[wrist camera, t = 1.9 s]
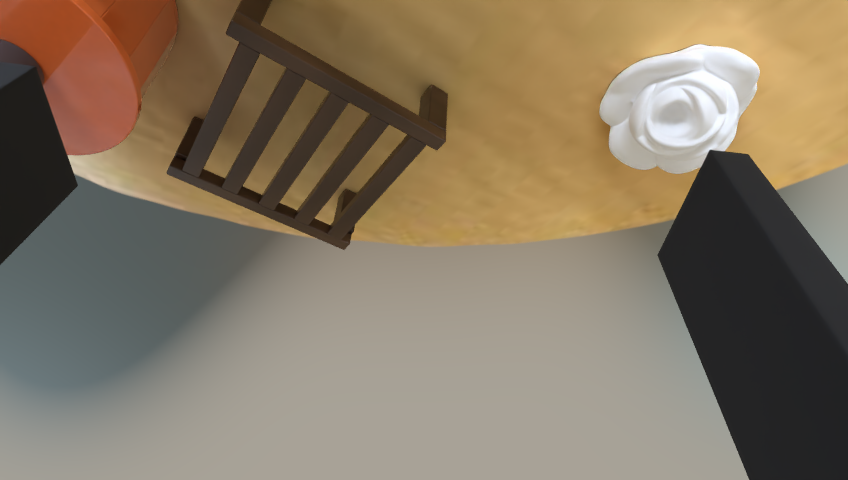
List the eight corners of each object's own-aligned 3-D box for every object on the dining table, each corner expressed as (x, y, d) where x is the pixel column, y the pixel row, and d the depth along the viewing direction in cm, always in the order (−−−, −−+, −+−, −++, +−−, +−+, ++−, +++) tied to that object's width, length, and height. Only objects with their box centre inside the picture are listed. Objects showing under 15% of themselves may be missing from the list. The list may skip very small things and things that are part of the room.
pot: (-29, 41, 37) (-103, 111, 32) (-25, -225, 26) (-137, -178, 21) (146, 122, 42) (104, 194, 37) (214, -75, 30) (167, -8, 26)
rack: (189, 127, 42) (166, 174, 39) (254, -25, 32) (231, 20, 29) (352, 204, 47) (344, 250, 44) (448, 93, 38) (446, 141, 35)
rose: (686, 214, 40) (574, 168, 37) (672, 171, 42) (567, 125, 40) (816, 114, 32) (689, 47, 30) (788, 70, 35) (670, 5, 32)
